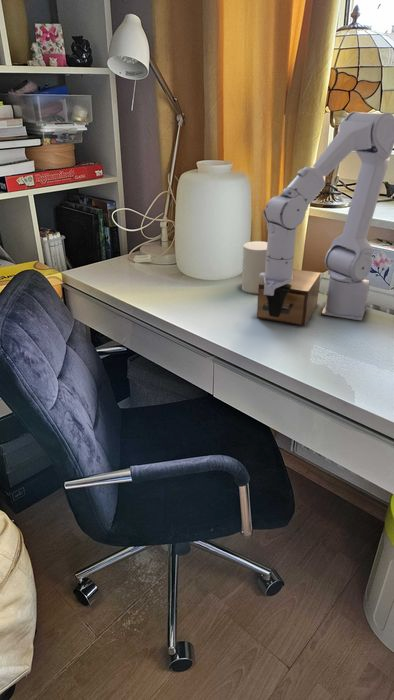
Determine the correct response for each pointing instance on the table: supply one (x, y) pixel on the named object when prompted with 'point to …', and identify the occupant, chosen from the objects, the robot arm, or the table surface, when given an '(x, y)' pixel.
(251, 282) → the cream upright cylinder
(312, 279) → the cabinet
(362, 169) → the robot arm
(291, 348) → the table surface
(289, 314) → the drawer
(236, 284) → the table surface
